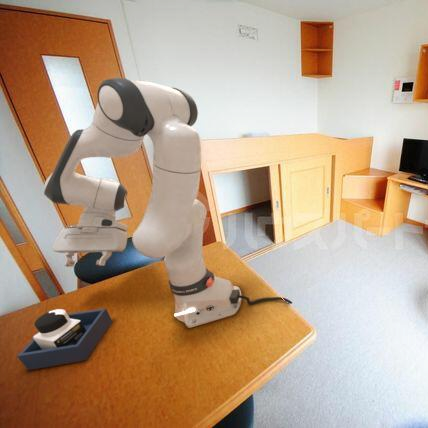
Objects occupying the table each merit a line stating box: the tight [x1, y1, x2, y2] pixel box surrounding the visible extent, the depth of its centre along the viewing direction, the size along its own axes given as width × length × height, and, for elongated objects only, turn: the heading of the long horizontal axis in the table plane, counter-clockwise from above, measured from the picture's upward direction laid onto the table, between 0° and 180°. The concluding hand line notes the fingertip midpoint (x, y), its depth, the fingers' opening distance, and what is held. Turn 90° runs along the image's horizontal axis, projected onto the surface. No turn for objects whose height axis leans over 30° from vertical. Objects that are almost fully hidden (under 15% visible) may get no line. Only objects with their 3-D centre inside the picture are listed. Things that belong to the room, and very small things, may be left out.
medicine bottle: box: [32, 308, 87, 350], centre depth 68 cm, size 7×7×12 cm
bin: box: [16, 308, 113, 371], centre depth 71 cm, size 14×14×6 cm
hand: (84, 266), depth 76 cm, fingers open, 8 cm apart
